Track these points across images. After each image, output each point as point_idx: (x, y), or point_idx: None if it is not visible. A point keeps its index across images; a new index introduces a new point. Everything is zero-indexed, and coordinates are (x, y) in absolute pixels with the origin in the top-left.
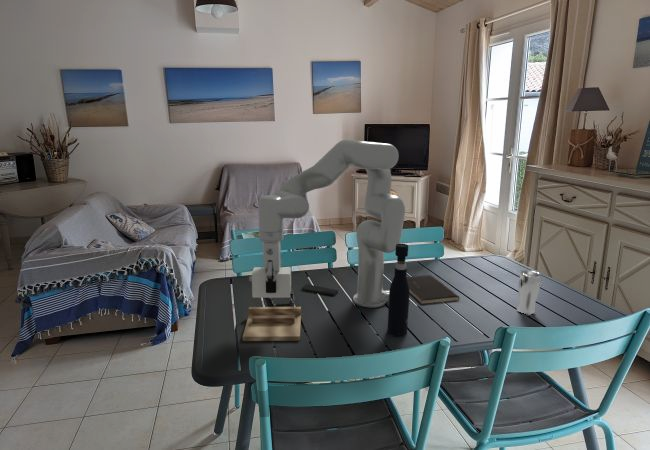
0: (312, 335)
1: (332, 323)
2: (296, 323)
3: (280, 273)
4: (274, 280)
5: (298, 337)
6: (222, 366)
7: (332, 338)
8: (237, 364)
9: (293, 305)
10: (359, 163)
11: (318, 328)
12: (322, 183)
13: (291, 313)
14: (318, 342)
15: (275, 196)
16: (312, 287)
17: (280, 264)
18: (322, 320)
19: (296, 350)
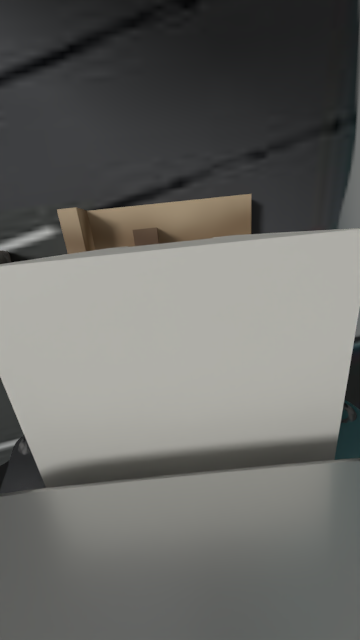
0: (209, 149)
1: (102, 56)
2: (156, 220)
3: (321, 404)
4: (357, 411)
5: (250, 199)
6: (356, 377)
7: (230, 51)
8: (354, 349)
9: (2, 254)
10: None
11: (154, 127)
12: None
13: (92, 249)
14: (259, 118)
15: None
16: None
17: (198, 576)
18: (84, 112)
19: (306, 200)
